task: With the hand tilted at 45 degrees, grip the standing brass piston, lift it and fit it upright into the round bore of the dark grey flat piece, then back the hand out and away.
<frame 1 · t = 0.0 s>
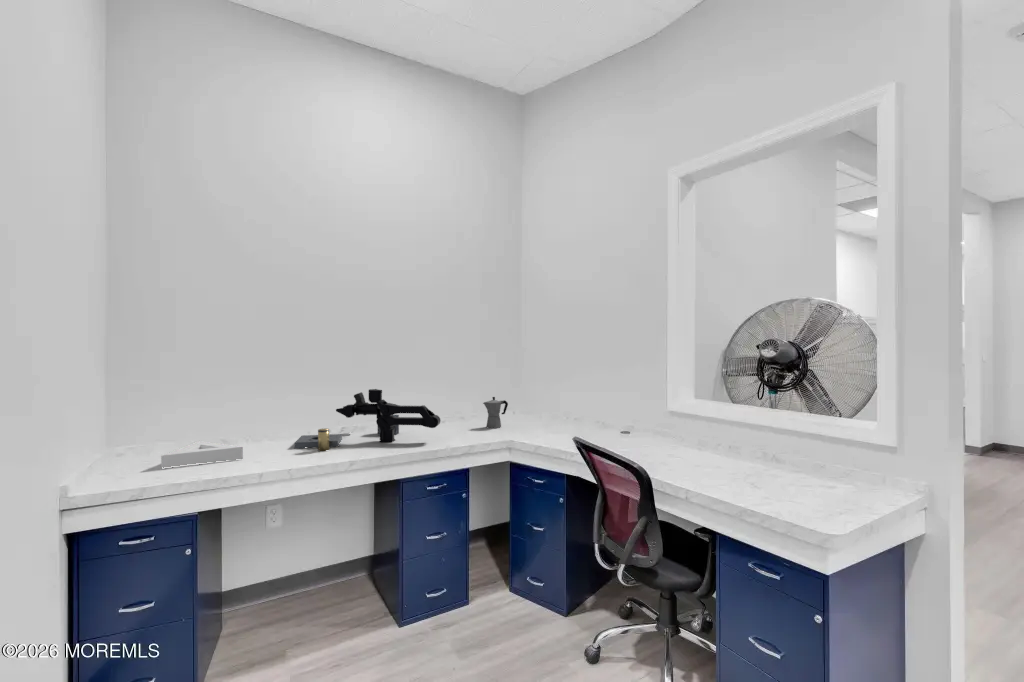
hand: (339, 408, 275), 17 cm above the worktop, tool horizontal, fingers open, 9 cm apart
piston: (323, 450, 252), on the worktop
small box: (388, 434, 294), on the worktop
coffeepot: (495, 427, 315), on the worktop
dark grey flat piece: (319, 444, 267), on the worktop
triangle block: (212, 462, 233), on the worktop
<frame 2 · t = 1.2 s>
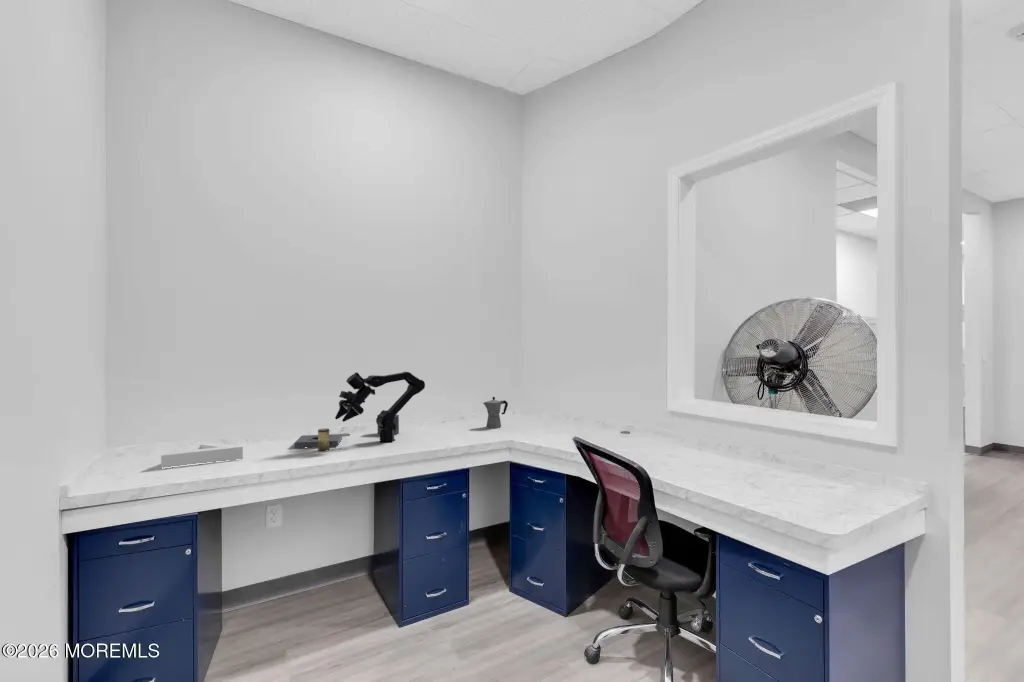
hand: (339, 419, 257), 14 cm above the worktop, tool tilted 45°, fingers open, 9 cm apart
nothing on the worktop moved.
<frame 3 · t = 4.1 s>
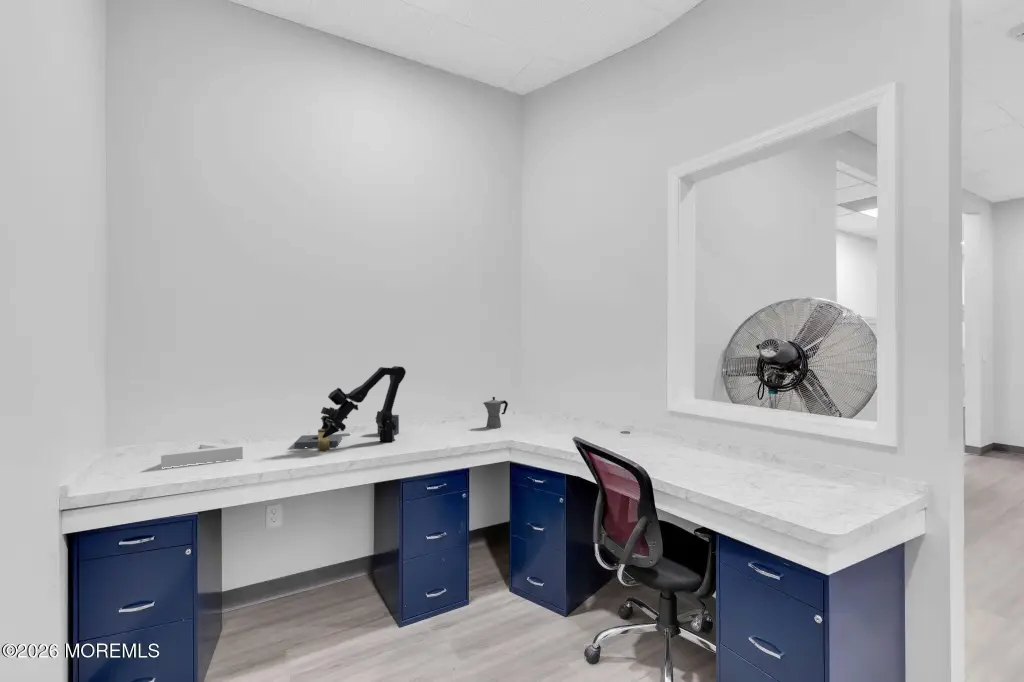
hand: (320, 436, 251), 7 cm above the worktop, tool tilted 45°, fingers closed on piston, 5 cm apart
piston: (323, 450, 252), on the worktop, touching gripper
everything else where it was.
when the fingers open (8 cm above the worktop, at t = 8.3 s): piston drops 2 cm, resting in dark grey flat piece.
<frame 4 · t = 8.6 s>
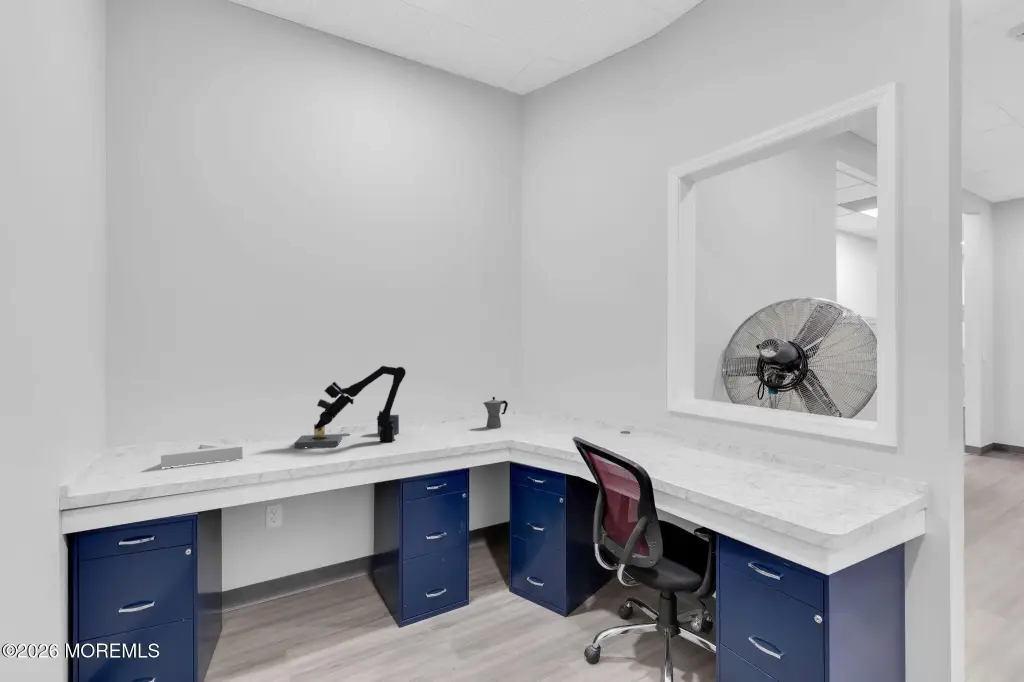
hand: (316, 427, 266), 9 cm above the worktop, tool tilted 45°, fingers open, 8 cm apart
piston: (319, 444, 267), resting in dark grey flat piece
everything else where it was.
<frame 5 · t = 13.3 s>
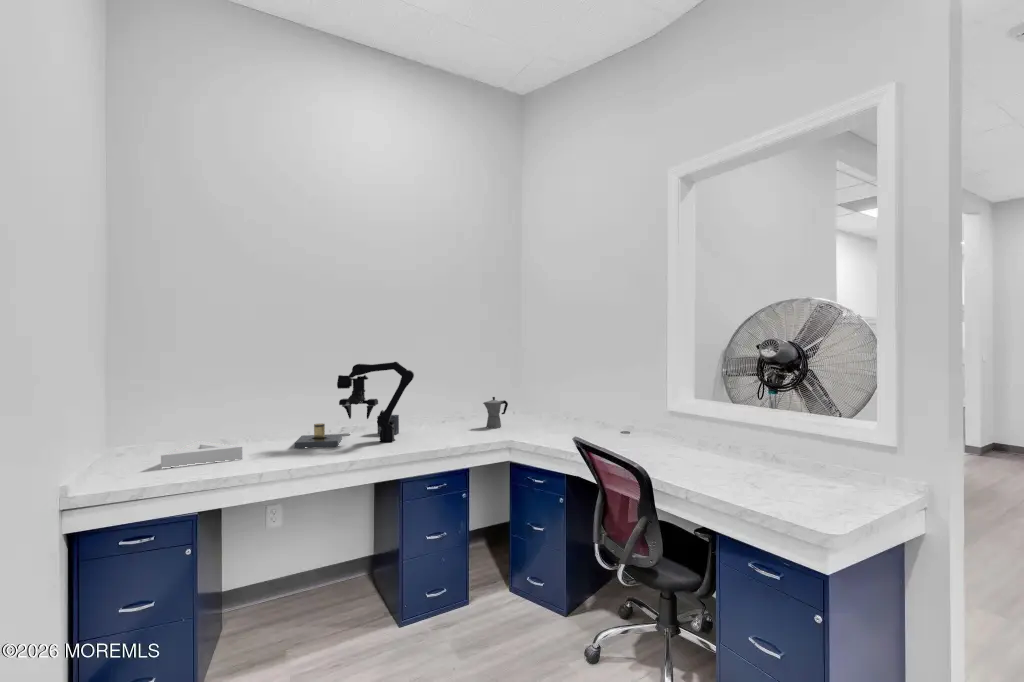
hand: (358, 418, 271), 12 cm above the worktop, tool pointing down, fingers open, 9 cm apart
nothing on the worktop moved.
at the end: piston 0.0 cm off-centre on the dark grey flat piece, point 0.0 cm above the dark grey flat piece's base; piston tilted 0°; the gripper is holding nothing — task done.
